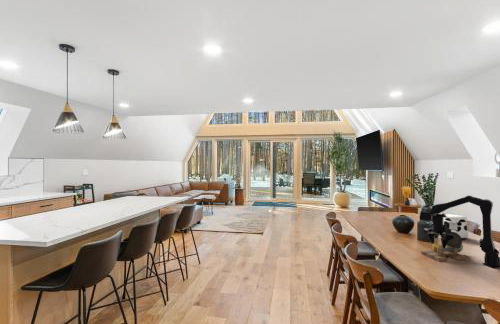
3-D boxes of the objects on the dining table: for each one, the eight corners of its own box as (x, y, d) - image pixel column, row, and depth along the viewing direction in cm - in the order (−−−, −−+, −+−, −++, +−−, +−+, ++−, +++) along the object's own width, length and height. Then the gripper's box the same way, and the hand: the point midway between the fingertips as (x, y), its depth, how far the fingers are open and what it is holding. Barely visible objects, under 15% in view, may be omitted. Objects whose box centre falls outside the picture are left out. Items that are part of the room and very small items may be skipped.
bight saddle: (444, 252, 175) (444, 245, 175) (438, 253, 174) (438, 246, 174) (437, 250, 180) (437, 243, 180) (432, 250, 180) (432, 243, 180)
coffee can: (462, 239, 182) (461, 232, 173) (463, 254, 177) (462, 248, 168) (444, 237, 188) (442, 230, 179) (444, 251, 184) (442, 245, 175)
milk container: (459, 235, 227) (459, 214, 227) (473, 240, 210) (473, 218, 210) (438, 234, 230) (437, 213, 230) (450, 239, 213) (450, 217, 213)
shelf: (466, 259, 167) (466, 249, 168) (438, 261, 165) (438, 250, 165) (447, 252, 181) (447, 242, 181) (421, 253, 179) (421, 243, 179)
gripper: (461, 225, 169) (461, 249, 169) (437, 219, 188) (437, 241, 187) (445, 226, 168) (445, 250, 168) (423, 220, 186) (423, 242, 186)
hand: (438, 245), depth 177 cm, fingers open, 9 cm apart
